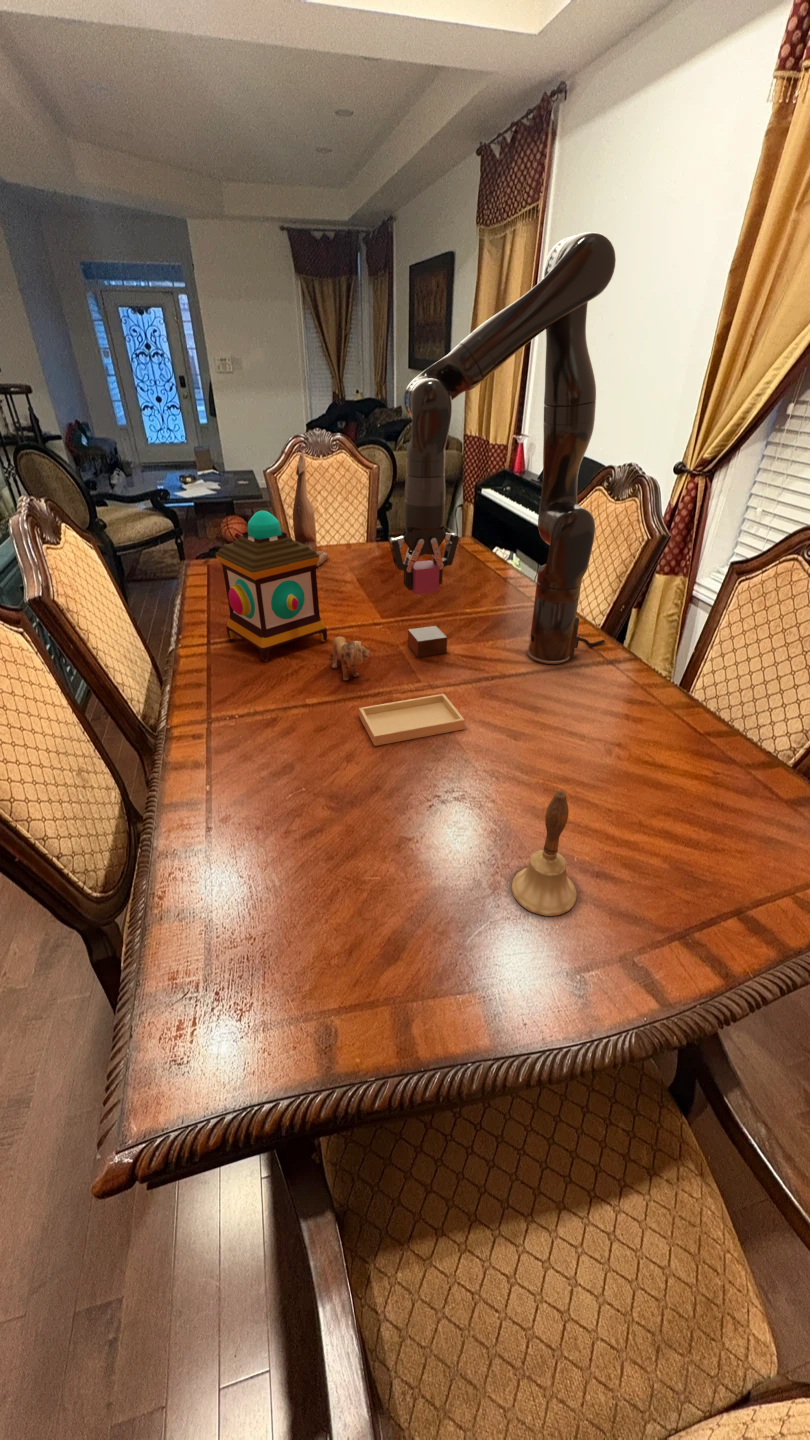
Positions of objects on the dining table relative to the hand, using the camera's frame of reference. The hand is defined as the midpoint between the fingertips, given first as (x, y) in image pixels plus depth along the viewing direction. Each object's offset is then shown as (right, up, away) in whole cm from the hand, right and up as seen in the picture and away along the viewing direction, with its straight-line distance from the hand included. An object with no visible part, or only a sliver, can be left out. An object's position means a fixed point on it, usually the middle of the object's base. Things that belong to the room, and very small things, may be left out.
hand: (422, 587), depth 122 cm
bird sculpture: (-35, +24, +73) cm, 85 cm away
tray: (-2, -27, -9) cm, 29 cm away
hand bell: (+14, -49, -43) cm, 67 cm away
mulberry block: (0, 0, 0) cm, 0 cm away
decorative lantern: (-34, -8, +23) cm, 42 cm away
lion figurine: (-16, -16, +9) cm, 25 cm away
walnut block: (+2, -10, +18) cm, 21 cm away
